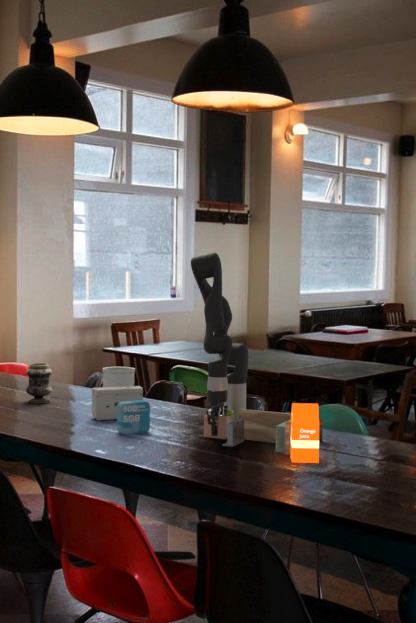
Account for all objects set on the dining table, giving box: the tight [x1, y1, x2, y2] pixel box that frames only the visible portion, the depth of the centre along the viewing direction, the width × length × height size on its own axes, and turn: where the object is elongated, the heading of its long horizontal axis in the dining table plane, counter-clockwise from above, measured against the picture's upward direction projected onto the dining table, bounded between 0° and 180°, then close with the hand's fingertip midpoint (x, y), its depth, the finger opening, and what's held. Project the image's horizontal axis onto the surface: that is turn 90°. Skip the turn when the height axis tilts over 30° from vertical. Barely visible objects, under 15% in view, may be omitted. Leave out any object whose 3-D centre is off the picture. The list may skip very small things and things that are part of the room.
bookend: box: [222, 419, 245, 448], centre depth 301 cm, size 10×4×8 cm, turn 154°
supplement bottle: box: [319, 413, 323, 444], centre depth 307 cm, size 6×6×11 cm
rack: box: [239, 408, 291, 456], centre depth 297 cm, size 16×25×12 cm, turn 64°
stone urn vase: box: [25, 362, 53, 404], centre depth 395 cm, size 12×12×18 cm
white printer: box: [91, 372, 144, 421], centre depth 354 cm, size 21×8×20 cm, turn 108°
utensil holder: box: [102, 366, 136, 387], centre depth 385 cm, size 15×15×18 cm
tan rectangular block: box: [203, 414, 231, 440], centre depth 312 cm, size 4×9×9 cm, turn 64°
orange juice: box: [289, 402, 320, 467], centre depth 277 cm, size 8×9×20 cm
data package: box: [116, 400, 151, 435], centre depth 326 cm, size 12×4×12 cm, turn 118°
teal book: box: [275, 421, 287, 454], centre depth 292 cm, size 10×4×9 cm, turn 154°
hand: (216, 434), depth 312 cm, fingers closed on tan rectangular block, 4 cm apart
